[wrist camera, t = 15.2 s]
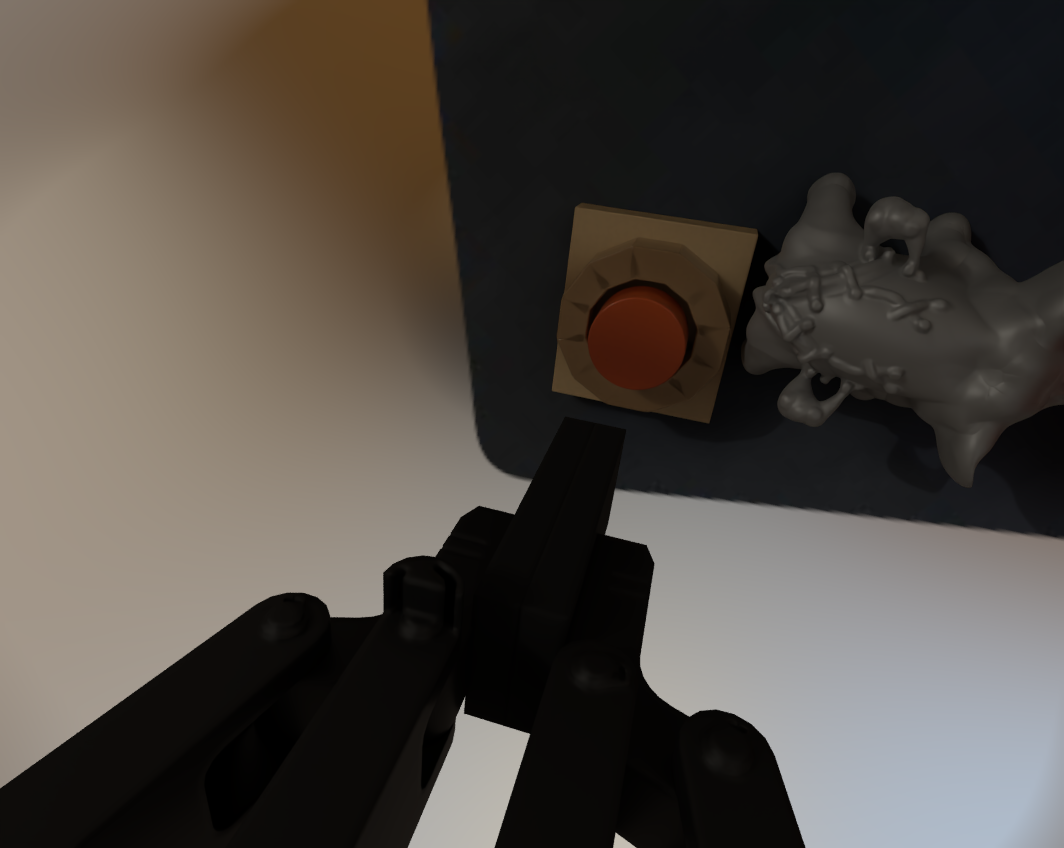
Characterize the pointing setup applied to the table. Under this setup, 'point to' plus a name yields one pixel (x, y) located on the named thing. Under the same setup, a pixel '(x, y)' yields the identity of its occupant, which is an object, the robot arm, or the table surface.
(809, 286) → the grey toy figure
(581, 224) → the button base
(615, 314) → the button
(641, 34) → the table surface
